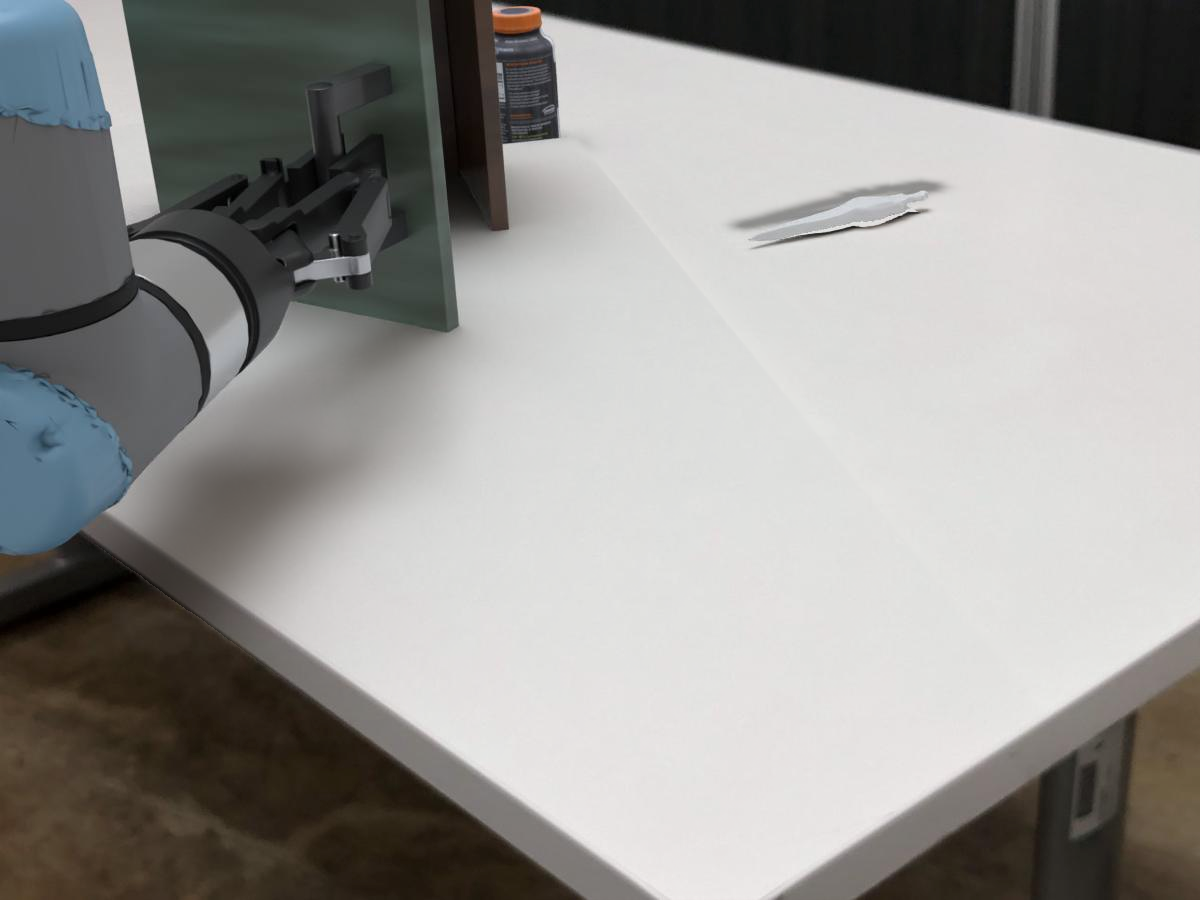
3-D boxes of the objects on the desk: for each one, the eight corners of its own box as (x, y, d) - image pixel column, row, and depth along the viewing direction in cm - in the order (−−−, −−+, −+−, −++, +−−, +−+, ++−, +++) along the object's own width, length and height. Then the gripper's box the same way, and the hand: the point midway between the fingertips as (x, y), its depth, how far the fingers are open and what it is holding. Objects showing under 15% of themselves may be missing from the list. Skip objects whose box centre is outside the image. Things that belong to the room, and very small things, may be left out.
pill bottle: (569, 137, 134) (561, 1, 128) (550, 157, 129) (542, 17, 123) (501, 135, 135) (491, 1, 130) (481, 155, 130) (470, 17, 125)
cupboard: (510, 251, 109) (482, -119, 98) (181, 292, 105) (113, -89, 94) (474, 185, 123) (446, -146, 112) (182, 218, 119) (123, -121, 108)
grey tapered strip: (915, 206, 114) (916, 181, 113) (937, 216, 112) (939, 190, 111) (738, 246, 109) (737, 220, 108) (758, 257, 106) (758, 230, 106)
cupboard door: (390, 393, 89) (338, -47, 78) (109, 328, 99) (28, -67, 88) (461, 348, 94) (422, -70, 83) (187, 291, 105) (120, -86, 94)
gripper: (40, 385, 72) (249, 216, 92) (342, 402, 69) (489, 223, 89) (4, 229, 68) (229, 89, 89) (320, 240, 65) (478, 92, 86)
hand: (359, 157), depth 89 cm, fingers closed on cupboard door, 2 cm apart
